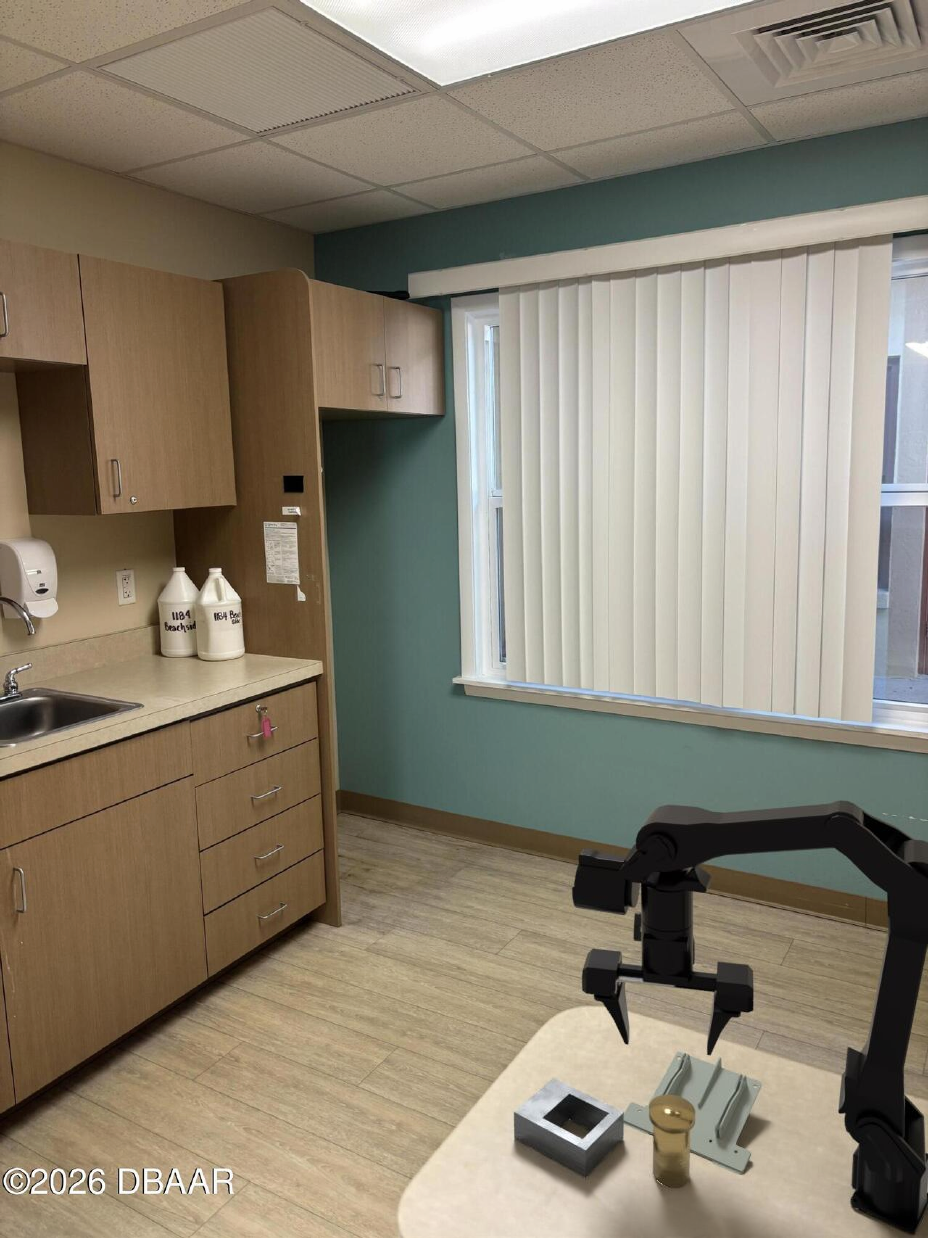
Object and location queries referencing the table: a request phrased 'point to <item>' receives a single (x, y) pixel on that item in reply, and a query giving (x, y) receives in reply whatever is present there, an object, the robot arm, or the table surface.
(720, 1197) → the table surface
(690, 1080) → the metal bracket
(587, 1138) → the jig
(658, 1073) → the table surface
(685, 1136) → the knob
